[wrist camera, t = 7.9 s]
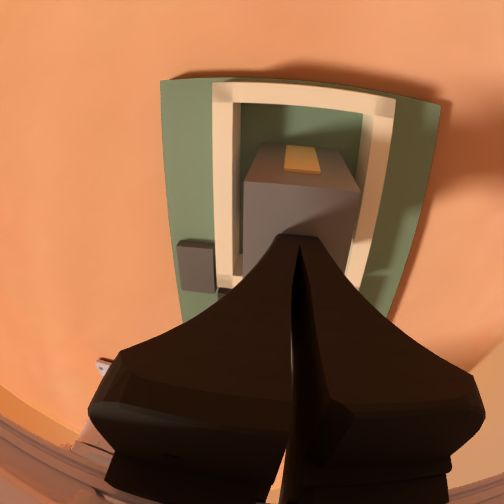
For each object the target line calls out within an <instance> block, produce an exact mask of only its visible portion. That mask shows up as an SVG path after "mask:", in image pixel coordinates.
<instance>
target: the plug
mask: <svg viewBox="0 0 504 504" xmlns="http://www.w3.org/2000/svg"><path fill="white" fill-rule="evenodd" d="M360 194H361V192H360V190H359V188H358V186H357V184H356V182H355V180H354V178H353V176H352V175H351V173H350V171H349V169H348V167H347V165H346V164H345V162H344V160H343V158H342V156H341V155H340V153H339V151H338V149H331V148H322V147H312V146H301V145H290V144H276V143H262V144H261V146H260V148H259V151H258V153H257V155H256V157H255V159H254V161H253V163H252V165H251V167H250V169H249V172H248V174H247V176H246V178H245V180H244V206H243V278H244V277H245V276H246V275H247V274H248V273H249V272H250V271H251V270H252V269H253V267H254V266H255V265H256V264H257V263H258V261H259V260H260V259H261V258H262V256H263V255H264V254H265V252H266V251H267V250H268V248H269V247H270V245H271V243H272V242H273V240H274V238H275V236H276V235H278V234H279V233H280V234H291V235H302V236H313V237H318V238H319V239H320V240H321V242H322V243H323V245H324V246H325V248H326V249H327V251H328V252H329V254H330V255H331V257H332V258H333V260H334V261H335V262H336V264H337V265H338V266H339V268H340V269H341V270H342V272H343V273H344V274H345V269H346V265H347V261H348V256H349V251H350V247H351V242H352V237H353V232H354V227H355V222H356V216H357V211H358V206H359V200H360Z"/></svg>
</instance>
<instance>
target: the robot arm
mask: <svg viewBox="0 0 504 504" xmlns="http://www.w3.org/2000/svg"><path fill="white" fill-rule="evenodd" d="M291 341H292V367H293V382H292V372H291ZM95 363H96V366H97V368H98V370H99V371H100V373H101V375H102V377H103V379H102V381H101V383H100V385H99V387H98V389H97V391H96V393H95V395H94V397H93V399H92V401H91V403H90V405H89V407H88V418H87V420H86V423H85V425H84V427H83V429H82V431H81V433H80V436H79V438H78V440H76V441H75V444H74V446H73V448H72V450H71V445H70V444H68V443H65V444H61V445H59V446H57V445H55V444H53V443H51V442H49V441H47V440H45V439H43V438H41V437H39V436H37V435H35V434H33V433H32V432H30V431H28V430H26V429H25V428H23V427H21V426H20V425H18V424H16V423H14V422H13V421H11V420H9V419H8V418H6V417H5V416H3V415H1V414H0V504H269V503H266V499H267V496H268V493H269V491H270V488H271V485H273V483H274V481H275V478H276V475H277V473H278V470H279V467H280V464H281V461H282V458H283V456H284V453H285V450H286V455H285V463H284V470H283V477H282V484H281V491H280V498H279V504H504V473H501V474H498V475H495V476H493V477H490V478H487V479H484V480H480V481H477V482H474V483H471V484H467V485H464V486H460V487H457V488H453V489H449V490H448V486H447V479H446V473H449V472H450V471H451V469H452V463H451V458H450V456H451V455H452V454H453V453H454V452H455V451H457V450H458V449H459V448H460V447H461V446H463V445H464V444H465V443H466V442H467V441H468V440H470V439H471V438H472V437H473V436H474V435H475V434H476V433H477V432H478V430H479V429H480V428H481V426H482V424H483V422H484V420H485V409H484V406H483V402H482V399H481V397H480V394H479V391H478V388H477V385H476V382H475V380H474V377H473V375H471V374H469V373H467V372H466V371H464V370H462V369H460V368H458V367H457V366H455V365H453V364H451V363H449V362H448V361H446V360H444V359H442V358H440V357H439V356H437V355H436V354H434V353H433V352H431V351H430V350H428V349H426V348H425V347H423V346H422V345H420V344H419V343H417V342H416V341H415V340H413V339H412V338H411V337H409V336H408V335H407V334H405V333H404V332H403V331H401V330H400V329H399V328H398V327H396V326H395V325H394V324H393V323H392V322H390V321H389V320H388V319H387V318H386V317H384V316H383V315H382V314H381V313H380V312H379V311H378V310H377V309H376V308H375V307H374V306H373V305H372V304H371V303H370V302H369V301H367V300H366V299H365V298H364V296H363V295H362V294H361V293H360V292H359V291H358V290H357V289H356V288H355V287H354V285H353V284H352V283H351V282H350V281H349V280H348V278H347V277H346V276H345V274H344V273H343V272H342V270H341V269H340V268H339V266H338V265H337V264H336V262H335V261H334V260H333V258H332V257H331V255H330V254H329V252H328V251H327V249H326V248H325V246H324V245H323V243H322V242H321V240H320V239H319V238H318V237H313V236H302V235H291V234H280V233H279V234H278V235H276V236H275V238H274V240H273V242H272V243H271V245H270V247H269V248H268V250H267V251H266V252H265V254H264V255H263V256H262V258H261V259H260V260H259V261H258V263H257V264H256V265H255V266H254V267H253V269H252V270H251V271H250V272H249V273H248V274H247V275H246V276H245V277H244V278H243V279H242V280H241V281H240V282H239V283H238V284H237V285H236V286H235V287H234V288H233V289H231V290H230V291H229V292H228V293H227V294H226V295H224V296H223V297H222V298H221V299H219V300H218V301H217V302H215V303H214V304H213V305H211V306H210V307H208V308H207V309H206V310H204V311H203V312H201V313H200V314H198V315H197V316H195V317H194V318H192V319H190V320H188V321H187V322H185V323H183V324H181V325H179V326H177V327H175V328H173V329H171V330H170V331H168V332H165V333H163V334H161V335H159V336H157V337H154V338H152V339H149V340H147V341H145V342H142V343H140V344H137V345H135V346H132V347H130V348H127V349H124V350H121V351H120V352H119V353H118V355H117V357H116V358H115V359H114V361H113V362H112V363H110V362H107V361H103V360H99V359H98V360H97V361H96V362H95Z"/></svg>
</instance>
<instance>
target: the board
mask: <svg viewBox="0 0 504 504" xmlns="http://www.w3.org/2000/svg"><path fill="white" fill-rule="evenodd" d="M160 90H161V120H162V140H163V156H164V170H165V183H166V195H167V205H168V215H169V225H170V234H171V242H172V251H173V259H174V266H175V274H176V281H177V288H178V294H179V301H180V307H181V314H182V320H183V323H185V322H187V321H188V320H190V319H192V318H194V317H195V316H197V315H198V314H200V313H201V312H203V311H204V310H206V309H207V308H208V307H210V306H211V305H213V304H214V303H215V302H217V301H218V300H219V299H221V298H222V297H223V296H224V295H226V294H227V293H228V292H229V291H230V290H231V289H233V288H234V287H235V286H236V285H237V284H238V283H239V282H240V281H241V280H242V279H243V206H244V180H245V178H246V176H247V174H248V172H249V169H250V167H251V165H252V163H253V161H254V159H255V157H256V155H257V153H258V151H259V148H260V146H261V144H262V143H276V144H290V145H301V146H312V147H322V148H331V149H338V151H339V153H340V155H341V156H342V158H343V160H344V162H345V164H346V165H347V167H348V169H349V171H350V173H351V175H352V176H353V178H354V180H355V182H356V184H357V186H358V188H359V190H360V192H361V194H360V200H359V206H358V211H357V216H356V222H355V227H354V232H353V237H352V242H351V247H350V251H349V256H348V261H347V265H346V269H345V276H346V277H347V278H348V280H349V281H350V282H351V283H352V284H353V285H354V287H355V288H356V289H357V290H358V291H359V292H360V293H361V294H362V295H363V296H364V298H365V299H366V300H367V301H369V302H370V303H371V304H372V305H373V306H374V307H375V308H376V309H377V310H378V311H379V312H380V313H381V314H382V315H383V316H384V317H387V315H388V312H389V310H390V307H391V304H392V302H393V299H394V296H395V293H396V291H397V288H398V285H399V282H400V279H401V276H402V273H403V270H404V267H405V264H406V261H407V258H408V255H409V252H410V248H411V245H412V242H413V238H414V235H415V231H416V228H417V224H418V220H419V217H420V213H421V209H422V205H423V201H424V197H425V193H426V188H427V184H428V179H429V175H430V170H431V165H432V160H433V155H434V149H435V144H436V138H437V132H438V125H439V118H440V111H441V105H438V104H434V103H430V102H426V101H423V100H418V99H414V98H410V97H406V96H401V95H397V94H392V93H387V92H382V91H377V90H371V89H365V88H359V87H353V86H346V85H339V84H331V83H323V82H314V81H303V80H290V79H274V78H244V77H222V78H191V79H175V80H163V81H160ZM291 372H292V382H293V367H292V341H291Z"/></svg>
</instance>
